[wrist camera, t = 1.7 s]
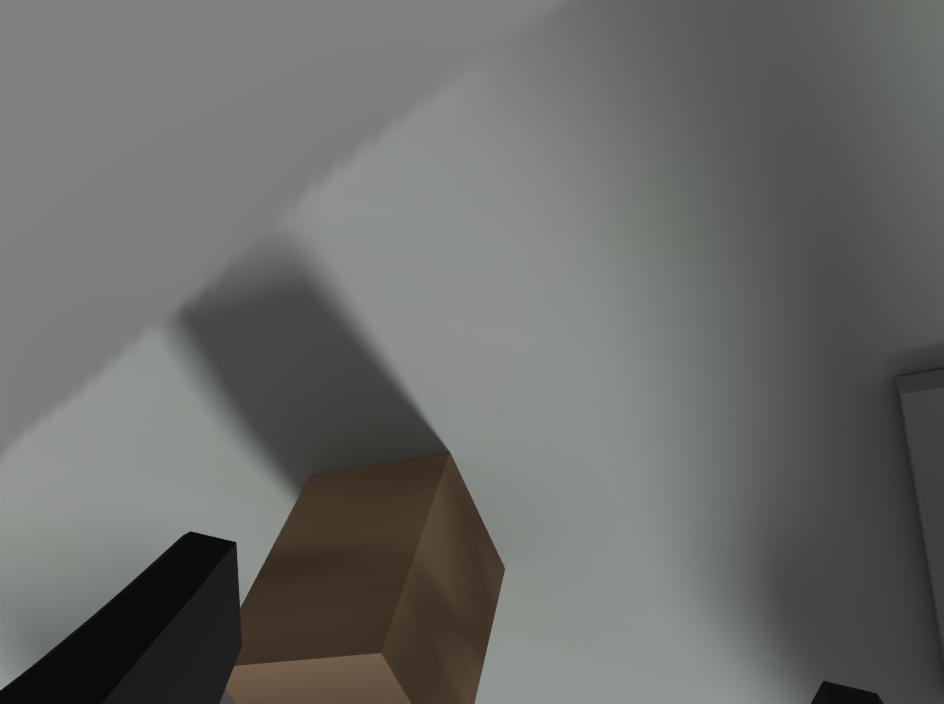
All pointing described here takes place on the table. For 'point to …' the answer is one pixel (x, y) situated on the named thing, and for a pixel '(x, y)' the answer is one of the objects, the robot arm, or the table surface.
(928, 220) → the table surface
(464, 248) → the table surface
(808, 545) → the table surface
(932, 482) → the pad
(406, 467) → the block
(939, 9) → the table surface
